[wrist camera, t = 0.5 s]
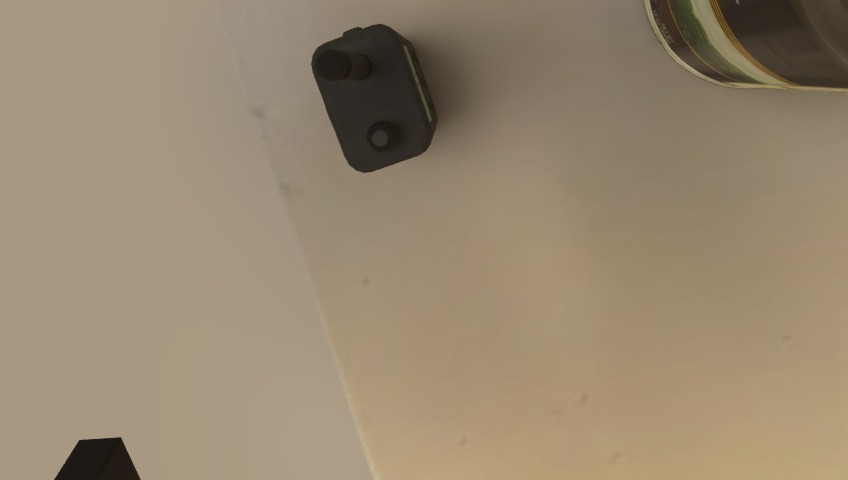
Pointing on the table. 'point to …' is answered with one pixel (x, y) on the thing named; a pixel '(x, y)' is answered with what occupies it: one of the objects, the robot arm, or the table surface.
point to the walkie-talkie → (375, 97)
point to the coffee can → (757, 41)
